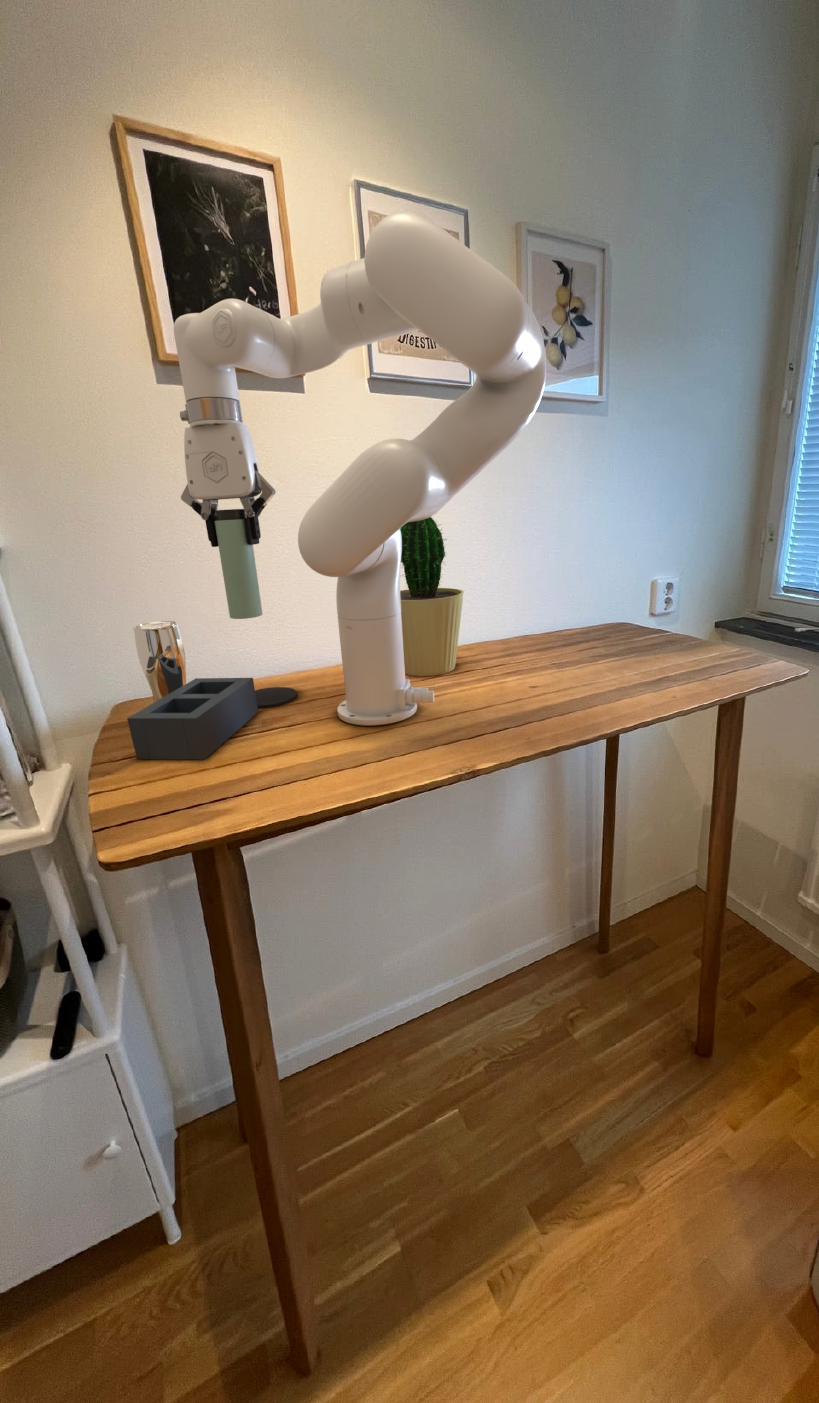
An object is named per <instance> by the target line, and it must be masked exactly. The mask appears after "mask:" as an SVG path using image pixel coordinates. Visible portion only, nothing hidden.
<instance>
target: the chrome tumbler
mask: <svg viewBox="0 0 819 1403" xmlns="http://www.w3.org/2000/svg"><path fill="white" fill-rule="evenodd" d="M133 633H134V642H135V647H136V654H137V657H138V660H139V664H140V666H141V669H142V672H143V674H144V677H145V678H146V681H147V683H148V685H149V688H150V690H151V693H152V698H153V703H154V702H156V701H158V700H159V699H161V698H163V697H165V696H166V695H168V694H170V693H171V692H173V691H175V690H177V689H178V688H180V687H182V686H184V685H185V684H187V667H186V666H187V664H186V662H187V661H186V652H185V646H184V642H183V638H182V634H181V631H180V626H179V624H178V621H176V620H160V621H151V622H146V623H142V624H138V625H135V626H134V627H133Z"/></svg>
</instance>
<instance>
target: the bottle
mask: <svg viewBox="0 0 819 1403" xmlns="http://www.w3.org/2000/svg"><path fill="white" fill-rule="evenodd" d="M216 516H217V521H215V527H216V534H217V540H218V552H219V557H220V564H221V571H222V577H223V582H224V590H225V596H226V601H227V608H228V614H229V619H232V620H233V619H234V620H245V619H253V618H259V617H261V616H263V607H262V601H261V593H260V586H259V578H258V573H257V571H258V570H257V564H256V558H255V550H254V545H249V544H248V543H247V538H246V531H245V525H244V518H247V517H246V512H245V510H244V508H233V509H232V508H229V509H217V510H216Z"/></svg>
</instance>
